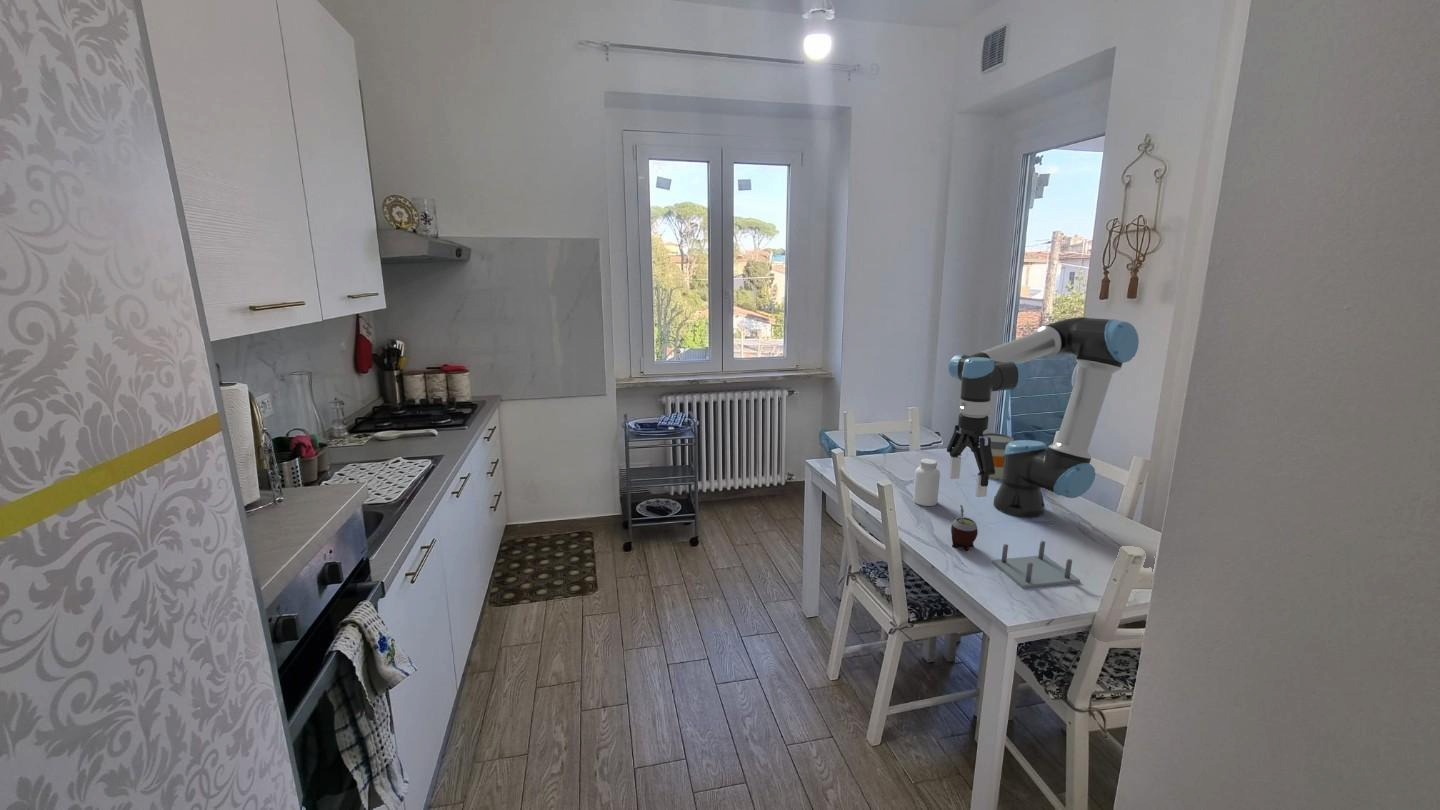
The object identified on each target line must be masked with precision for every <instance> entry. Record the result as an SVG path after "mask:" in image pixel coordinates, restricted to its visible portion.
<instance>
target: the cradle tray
mask: <svg viewBox="0 0 1440 810" xmlns="http://www.w3.org/2000/svg"><path fill="white" fill-rule="evenodd" d="M1045 546H1046V541H1044V540H1040V541H1039V549H1038V555H1032V556H1021V557H1009V558H1008V551H1009V545H1008V544H1006V543H1004V544H1003V545H1002V554H1001V558H1000V559H999V558H998V559H992V560H991V563H992V564H993V565H994V566H996V567H997V568H998V569H999V570H1000V571H1002V572H1003V574H1004V575H1006V576H1007V577H1008V578H1010V579H1011V580H1012V581H1013V582H1014V583H1016V584H1017V585H1018V586H1019V587H1020V588H1022V589H1027V588H1036V587H1047V586H1058V585H1067V584H1068V585H1069V584H1078V583H1081V582H1080V581H1081V579H1079V577H1077V576H1076V575H1074V574H1072V572H1071V571H1072V565H1073V559H1071V558H1066V563H1065V568H1064V567H1063V566H1062V565H1061V564H1059V563H1057V562H1056V561H1054V560H1053V559H1051V558H1050V557H1049V556H1048V555H1046V554H1045Z"/></svg>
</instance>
